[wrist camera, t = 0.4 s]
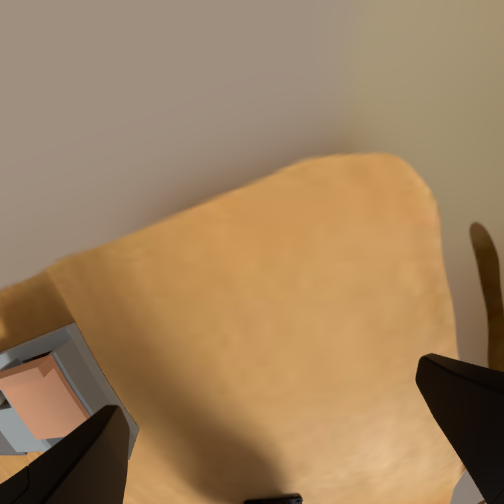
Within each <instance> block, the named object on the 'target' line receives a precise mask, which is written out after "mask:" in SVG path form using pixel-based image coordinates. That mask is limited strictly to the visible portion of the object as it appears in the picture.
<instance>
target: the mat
mask: <svg viewBox="0 0 504 504" xmlns="http://www.w3.org/2000/svg"><path fill="white" fill-rule="evenodd" d="M0 455H27V452H16V451H15V449H14V448H13V447H12V446H11V444H10V443H9V442H8V440H7V439H6V438H5V436H4V435H3V434H2V432H1V431H0Z"/></svg>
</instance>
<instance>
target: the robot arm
mask: <svg viewBox="0 0 504 504" xmlns="http://www.w3.org/2000/svg"><path fill="white" fill-rule="evenodd" d="M415 380H416V384H417V386H418V388H419V390H420V392H421V394H422V396H423V398H424V399H425V401H426V403H427V405H428V407H429V409H430V411H431V413H432V415H433V417H434V419H435V420H436V422H437V423H438V425H439V426H440V428H441V430H442V431H443V433H444V434H445V436H446V437H447V439H448V440H449V442H450V443H451V445H452V447H453V448H454V450H455V451H456V453H457V454H458V456H459V458H460V459H461V461H462V462H463V464H464V466H465V467H466V469H467V471H468V472H469V474H470V475H471V477H472V479H473V480H474V482H475V484H476V486H477V487H478V489H479V491H480V492H481V494H482V496H483V498H484V499H485V501H486V503H487V504H504V372H502V371H498V370H494V369H490V368H486V367H482V366H478V365H474V364H470V363H466V362H463V361H459V360H455V359H452V358H448V357H444V356H441V355H437V354H433V353H430V354H427V355H424V356H422V357H421V358H420V359H419V363H418V368H417V373H416V378H415ZM129 436H130V428H129V424H128V422H127V420H126V418H125V415H124V413H123V411H122V409H121V407H120V406H119V405H111V404H107V405H105V406H103V407H102V408H101V409H100V410H98V411H97V412H96V413H95V414H93V415H92V416H91V417H89V418H88V419H87V420H86V421H84V422H83V423H82V424H81V425H79V426H78V427H77V428H75V429H74V430H73V431H72V432H70V433H69V434H68V435H67V436H65V437H64V438H63V439H61V440H60V441H59V442H57V443H56V444H55V445H54V446H52V447H51V448H50V449H48V450H47V451H46V452H44V453H43V454H42V455H41V456H39V457H38V458H37V459H35V460H34V461H33V462H31V463H30V464H29V466H26V467H25V468H23V469H22V470H21V471H19V472H18V473H16V474H15V475H13V476H12V477H11V478H9V479H8V480H6V481H5V482H3V483H1V484H0V504H123V497H124V491H125V485H126V479H127V469H128V451H129ZM302 501H303V499H302V497H301V496H297V497H288V498H279V499H267V500H250V501H245V502H244V504H302Z"/></svg>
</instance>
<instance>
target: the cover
mask: <svg viewBox="0 0 504 504" xmlns="http://www.w3.org/2000/svg"><path fill="white" fill-rule="evenodd" d="M0 390H3V392H4V393H5V395H6V396H7V398H8V400H9V401H10V403H11V404H12V406H13V407H14V409H15V410H16V412H17V413H18V415H19V416H20V418H21V419H22V421H23V422H24V423H25V425H26V426H27V428H28V429H29V430H30V432H31V433H32V434H33V436H34V437H35V438H36V440H41V439H50V438H59V437H65V436H67V435H68V434H69V433H70V432H72V431H73V430H74V429H75V428H77V427H78V426H79V425H81V424H82V423H83V422H84V421H86V420H87V419H88V418H89V417H91V416H90V415H89V413H88V412H87V411H86V409H85V408H84V406H83V405H82V403H81V402H80V400H79V399H78V397H77V396H76V394H75V392H74V391H73V389H72V388H71V386H70V385H69V383H68V381H67V380H66V378H65V376H64V375H63V373H62V371H61V370H60V368H59V366H58V364H57V363H56V361H55V359H54V357H53V355H52V354H51V355H48V356H45V357H42V358H39V359H36V360H33V361H31V362H28V363H25V364H22V365H19V366H16V367H13V368H10V369H7V370H4V371H1V372H0Z"/></svg>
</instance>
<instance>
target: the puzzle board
mask: <svg viewBox="0 0 504 504" xmlns="http://www.w3.org/2000/svg"><path fill="white" fill-rule="evenodd" d="M52 350H53V351H52ZM49 351H52V352H51V353H50V354H48V355H51V354H52V355H53V357H54V359H55V361H56V363H57V364H58V366H59V368H60V370H61V371H62V373H63V375H64V376H65V378H66V380H67V381H68V383H69V385H70V386H71V388H72V389H73V391H74V392H75V394H76V396H77V397H78V399H79V400H80V402H81V403H82V405H83V406H84V408H85V409H86V411H87V412H88V413H89V415H90V416H92V415H93V414H95V413H96V412H97V411H98V410H100V409H101V408H102V407H103V406H105V405H107V404H111V405H119V406H120V407H121V409H122V411H123V413H124V415H125V418H126V420H127V422H128V424H129V428H130V436H129V451H128V460H130V457H131V453H132V450H133V447H134V444H135V441H136V438H137V435H138V432H139V427H138V426H137V425H136V423H135V422H134V420H133V419H132V417H131V416H130V415H129V413H128V412H127V410H126V409H125V407H124V406H123V404H122V403H121V401H120V400H119V398H118V397H117V395H116V394H115V392H114V391H113V389H112V387H111V386H110V384H109V383H108V381H107V379H106V378H105V376H104V374H103V373H102V371H101V369H100V367H99V366H98V364H97V362H96V360H95V359H94V357H93V355H92V353H91V352H90V350H89V348H88V346H87V344H86V342H85V340H84V338H83V336H82V335H81V333H80V331H79V329H78V327H77V325H76V323H75V322H73V323H71V324H68V325H66V326H63V327H61V328H59V329H56V330H54V331H51V332H49V333H46V334H44V335H41V336H39V337H36V338H34V339H32V340H29V341H27V342H24V343H22V344H19V345H17V346H14V347H12V348H9V349H7V350H5V351H2V352H0V372H1V371H4V370H7V369H10V368H13V367H16V366H19V365H22V364H25V363H28V362H31V361H33V359H32V357H35V356H38V355H40V354H43V353H46V352H49ZM1 391H2V393H3V394H4V396H5V397H6V399H7V401H8V402H9V403H6V404H1V405H0V431H1V432H2V434H3V435H4V436H5V438H6V439H7V440H8V442H9V443H10V444H11V446H12V447H13V448H14V449H15V451H16V452H38V451H47V450H48V449H50V448H51V447H52V446H54V445H55V444H56V443H57V442H59V441H60V440H61V439H63V438H64V437H59V438H50V439H41V440H36V438H35V437H34V436H33V434H32V433H31V432H30V430H29V429H28V428H27V426H26V425H25V423H24V422H23V421H22V419H21V418H20V416H19V415H18V413H17V412H16V410H15V409H14V407H13V406H12V404H11V403H10V401H9V400H8V398H7V396H6V395H5V393H4V392H3V390H1Z"/></svg>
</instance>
